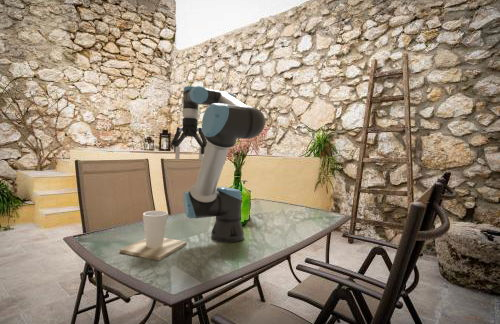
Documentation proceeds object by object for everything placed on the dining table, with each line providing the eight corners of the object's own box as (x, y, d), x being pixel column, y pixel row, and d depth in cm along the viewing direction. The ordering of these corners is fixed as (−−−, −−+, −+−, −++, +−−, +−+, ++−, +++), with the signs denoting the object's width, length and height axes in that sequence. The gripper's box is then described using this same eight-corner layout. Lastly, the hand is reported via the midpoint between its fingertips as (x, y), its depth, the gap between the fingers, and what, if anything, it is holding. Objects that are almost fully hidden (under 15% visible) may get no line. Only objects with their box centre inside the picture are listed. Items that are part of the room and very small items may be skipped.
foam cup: (158, 250, 102) (159, 217, 102) (137, 247, 104) (138, 214, 103) (171, 242, 111) (172, 211, 111) (151, 240, 113) (151, 209, 113)
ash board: (186, 244, 113) (186, 241, 113) (159, 260, 96) (159, 257, 96) (151, 238, 119) (151, 235, 119) (119, 252, 102) (119, 249, 102)
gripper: (215, 119, 134) (214, 161, 135) (173, 118, 142) (172, 158, 143) (209, 117, 127) (207, 161, 128) (164, 117, 135) (163, 158, 136)
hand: (188, 160), depth 136 cm, fingers open, 13 cm apart
